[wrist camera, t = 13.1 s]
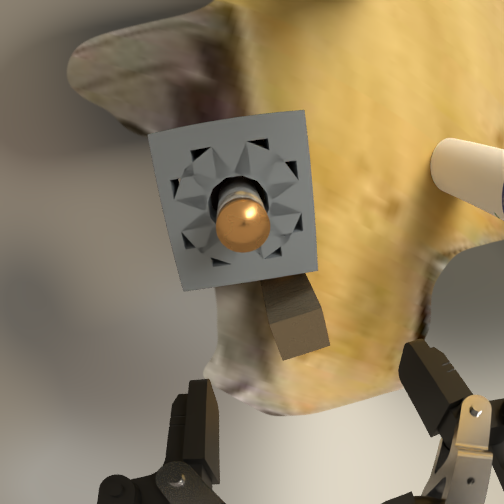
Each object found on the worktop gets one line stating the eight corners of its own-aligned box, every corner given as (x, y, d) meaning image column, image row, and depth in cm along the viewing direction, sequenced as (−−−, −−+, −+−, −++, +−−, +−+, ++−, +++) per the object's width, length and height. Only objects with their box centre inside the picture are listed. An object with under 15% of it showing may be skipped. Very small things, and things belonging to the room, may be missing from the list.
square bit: (259, 277, 36) (269, 324, 28) (301, 264, 36) (321, 307, 27) (271, 310, 38) (282, 360, 30) (310, 298, 38) (330, 345, 30)
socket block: (157, 132, 28) (147, 134, 25) (295, 111, 29) (304, 109, 25) (187, 273, 35) (183, 291, 31) (308, 254, 35) (317, 270, 32)
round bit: (216, 180, 31) (211, 205, 22) (255, 174, 31) (267, 197, 22) (222, 216, 33) (220, 256, 24) (259, 211, 33) (273, 248, 24)
